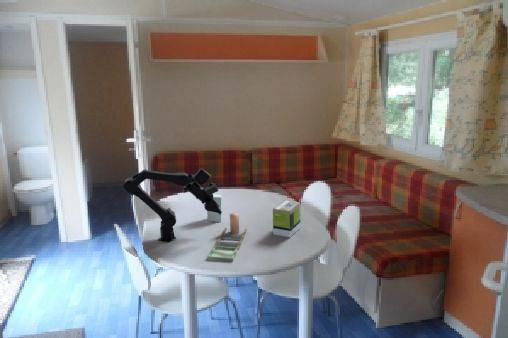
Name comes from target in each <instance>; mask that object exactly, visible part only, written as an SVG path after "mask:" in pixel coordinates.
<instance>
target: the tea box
mask: <svg viewBox="0 0 508 338" xmlns="http://www.w3.org/2000/svg"><path fill="white" fill-rule="evenodd" d="M301 213H302V212H301V202H299V201H298V202H297V201H292V200H286V199H285V200H283V201H281V202H280V203H279V204H278V205H276V206H275V207H273V208H272V234H273V235H275V236H279V237H280V236H281V237H284V238H291V237H292V236H293V235H294V234H295V233H297V231H298V230H299V229H300V228H301V224H302V221H301V220H302V219H301Z"/></svg>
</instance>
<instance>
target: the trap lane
mask: <svg viewBox="0 0 508 338" xmlns="http://www.w3.org/2000/svg"><path fill="white" fill-rule="evenodd" d="M227 230H228V228H227V227H224V229H223V231H222V232H221V233H220V236H219V237H218V239H217V240H216V243H214V246H213V247H212V249H211V251H210V252H209V254H208V256H207V260H208V261H219V262H232V263H233V262H234V260H235V258H236V255H237V254H238V251H239V250H240V248H241V246H242V242H243V240H244V238H245V236H246V234H247V233H248V232H247V231H248V229H247V228H244V230H243V232H242V234H240V233H238V234H231V233H226V232H227ZM230 241H231V242H230ZM234 241H235V242H234Z"/></svg>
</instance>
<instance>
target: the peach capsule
mask: <svg viewBox="0 0 508 338" xmlns="http://www.w3.org/2000/svg"><path fill="white" fill-rule="evenodd" d="M229 225H230V226H229V230H230V231H229V232H230V233H229V234H240V213H238V212H233V213H232V212H231V213H230V214H229Z"/></svg>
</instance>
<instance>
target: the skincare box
mask: <svg viewBox="0 0 508 338" xmlns="http://www.w3.org/2000/svg"><path fill="white" fill-rule="evenodd" d="M213 199H214V200H215V201H216V202H217V204H218V205H219V207H218V208H219V209H220V210H221V211H222V213H221V214H220V213H216V212H211V211H207V210H206V212H207V213H206V214H207V216H206V217H207V222H213V223H215V222H217V223H218V222H219V223H220V222H222V220H223V204H224V203H223V200H224V197H223V194H215V193H213Z"/></svg>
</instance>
